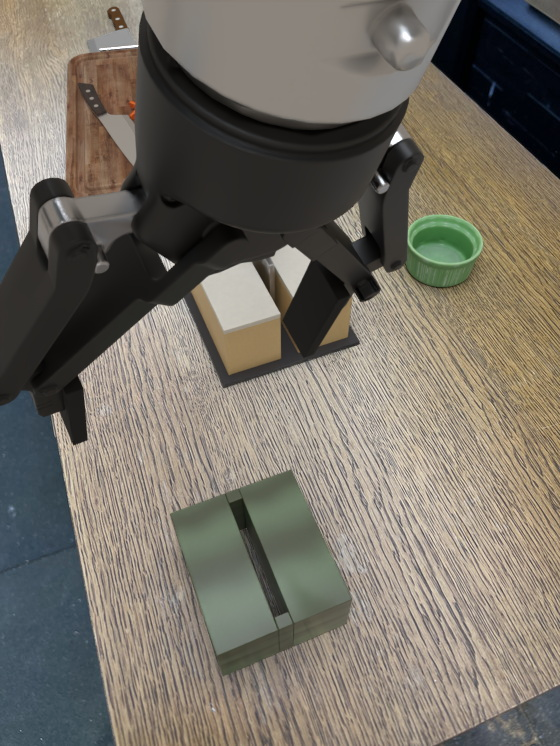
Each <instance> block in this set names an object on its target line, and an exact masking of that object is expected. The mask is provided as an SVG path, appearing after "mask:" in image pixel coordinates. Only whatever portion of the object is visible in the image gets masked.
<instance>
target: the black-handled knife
mask: <svg viewBox="0 0 560 746" xmlns="http://www.w3.org/2000/svg"><path fill="white" fill-rule="evenodd" d="M252 263H253V265H254V267H255V269H256V271H257V272H258V274H259V276H260V278H261V280H262V281H263V283H264V285H265V287H266V289H267V290H268V292H269V294H270V296H271V298H272V299H273V301H274V303H275V277H274V263H273V261H272V259H271V258H270V257H269V258H266V259H263V260H259V261H254V262H252Z"/></svg>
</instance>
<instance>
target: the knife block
mask: <svg viewBox="0 0 560 746" xmlns="http://www.w3.org/2000/svg"><path fill="white" fill-rule="evenodd" d="M169 515H170V519H171V522H172V525H173V528H174V531H175V533H176V534H175V536H176V539H177V540H178V544H179V547H180V550H181V553H182V556H183V560H184V562H185V565H186V569H187V572H188V574H189V578H190V581H191V585H192V587H193V591H194V593H195V596H196V599H197V602H198V605H199V609H200V612H201V614H202V618H203V620H204V624H205V627H206V630H207V633H208V636H209V639H210V642H211V645H212V648H213V651H214V654H215V658H216V660H217V664H218V667H219V670H220V672H221V676H222V677H226V676H228V675H230V674H232V673H235V672H238V671H240V670H242V669H244V668H246V667H249V666H251V665H254V664H256V663H258V662H262V661H263V660H265V659H268V658H270V657H273V656H274V655H275V656H276V655H277V654H279V653H281V652H284V651H287V650H289V649H291V648H293V647H295V646H296V647H297V646H298V645H301V644H303V643H305V642H308V641H310V640H312V639H314V638H317V637H319V636H322V635H323V634H324V635H325V634H326V633H328V632H331V631H333V630H336V629H338V628H341V627H343V626H344V625H347V624H348V620H349V615H350V611H351V607H352V604H353V603H352V602H353V597H352V595H351V593H350V591H349V589H348V586H347V584H346V582H345V580H344V577H343V576H342V574H341V572H340V570H339V568H338V567H339V566H338V565H337V563H336V561H335V559H334V557H333V555H332V553H331V551H330V548H329V546H328V544H327V542H326V540H325V537H324V535H323V534H322V531H321V529H320V527H319V525H318V522H317V521H316V519H315V516H314V514H313V512H312V510H311V509H310V506H309V504H308V502H307V500H306V497H305V495H304V494H303V491H302V489H301V487H300V484H299V483H298V481H297V479H296V477H295V475H294V472H293V470H292V469H288V470H286V471H283V472H280V473H277V474H274V475H272V476H269V477H266V478H263V479H260V480H258V481H255V482H253V483H252V482H251V483H250V484H247V485H243V486H242V487H239V488H235V489H233V490H231V491H227V492H225V493H223V494H219V495H216V496H214V497H212V498H209V499H206V500H203V501H200V502H197V503H195V504H192V505H188V506H186V507H183V508H181V509H179V510H175V511H173V512H170V513H169ZM243 530H246V533H247V534H248V538H249V540H250V543H251V545H252V547H253V550H254V552H255V555H256V558H257V560H258V562H259V564H260V568H261V570H262V572H263V575H264V576H265V580H266V582H267V585H268V587H269V590H270V592H271V595H272V597H273V600H274V603H275V605H276V607H277V610H278V612H279V615H276V616H274V615H273V612H272V610H271V608H270V605H269V601H268V599H267V597H266V594H265V592H264V589H263V587H262V584H261V582H260V580H259V577H258V574H257V572H256V569H255V566H254V564H253V561H252V558H251V556H250V554H249V551H248V548H247V546H246V543H245V541H244V539H243V536H242V533H241V531H243Z"/></svg>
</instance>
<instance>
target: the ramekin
mask: <svg viewBox="0 0 560 746" xmlns="http://www.w3.org/2000/svg"><path fill="white" fill-rule="evenodd" d="M483 249H484V238H483V236H482V234H481V232H480V231H479V230H478V228H476V226H475V225H473V224H472V223H471V222H469V221H467V220H465V219H463V218H461V217H458V216H455V215H450V214H440V213H439V214H429V215H425V216H421V217H419V218H418V219H416V220H414V221H413V222H412V223H411V224H410V225H409V226H408V247H407V261H406V263H405V267H406V269H407V271H408V272H409V274H410V275H411V276H412V277H413V278H414V279H415V280H417V281H418V282H420V283H422V284H424V285H427V286H431V287H436V288H450V287H454V286H457V285H460V284H462V283H463V282H465V281H466V280H467V279H468V278H469V277H470V275H471V273H472V271H473V268H474V266H475V263H476V261H477V259H478V258H479V257H480V255H481V253H482V252H483Z"/></svg>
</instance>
